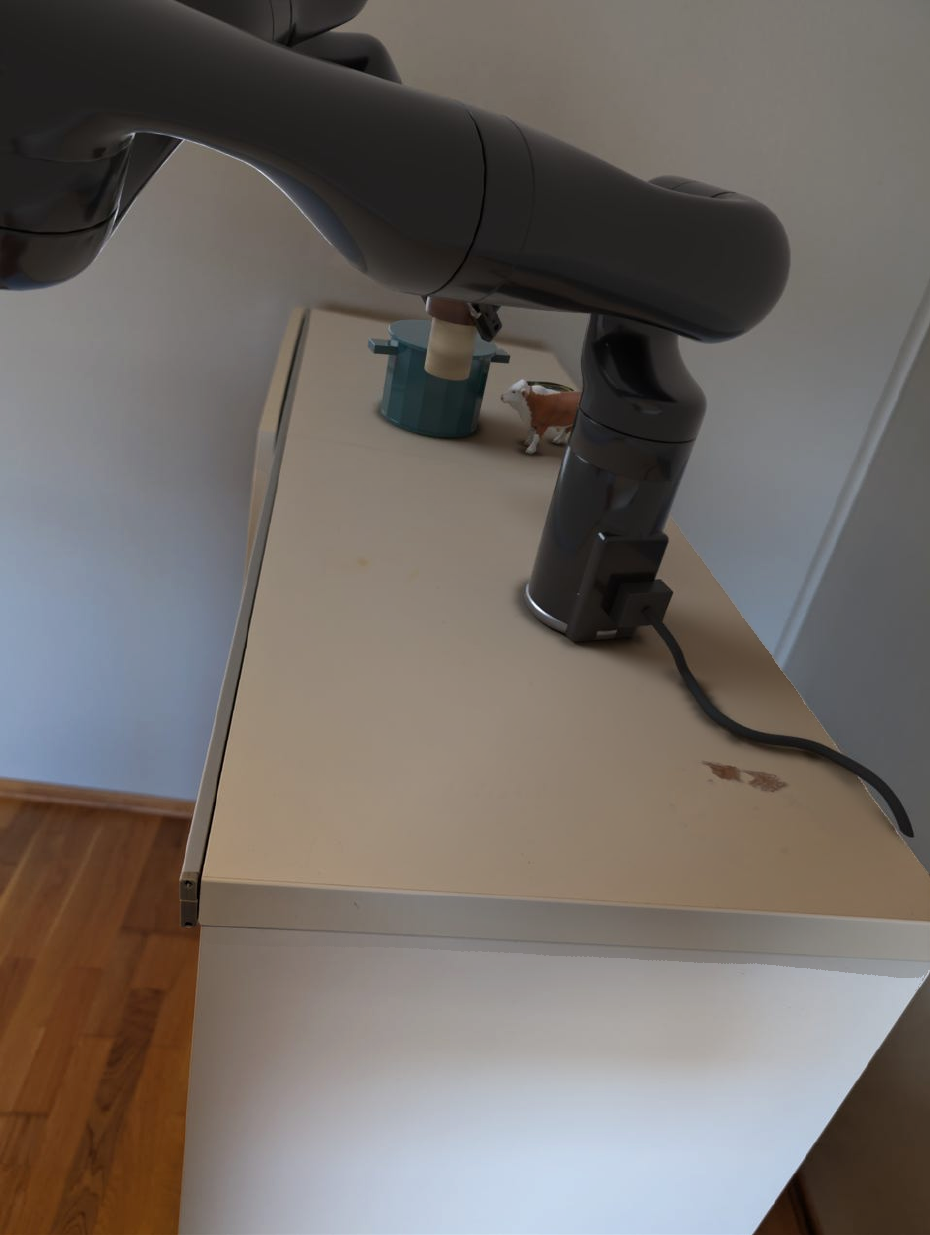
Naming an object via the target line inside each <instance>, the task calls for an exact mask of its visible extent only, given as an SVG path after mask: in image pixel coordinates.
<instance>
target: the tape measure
mask: <svg viewBox="0 0 930 1235" xmlns="http://www.w3.org/2000/svg"><path fill="white" fill-rule="evenodd" d="M525 381H526V382H527V384H528V385H529V386H536V385H540V386H543V387H544V388H545V389H551V390H555V391H561V392H570V391H575V390H574V389H573V388H571V387H568V386H566V385H564V384H560V383H556V382H551V381H534V380H533V381H531V380H525Z"/></svg>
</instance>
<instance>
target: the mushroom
mask: <svg viewBox="0 0 930 1235" xmlns="http://www.w3.org/2000/svg"><path fill="white" fill-rule="evenodd" d="M425 312H426V314H428V315H429V316H431V318H432V319H431V321H432V325H431V331H430V337H429V343H428V349H427V356H426V362H425V370H426V371H427V372H428V373H429V374H431V375H434V376H436V377H439V378H443V379H448V380H465V379H467V378H468V377H469V373H470V368H471V363H472V358H473V353H474V348H475V342H476V337H477V333H479V332H478V330H477V328H476V326H475V324H474V322H473V320H472V318H471V316H470V315H471V314H470V313H469V312H468V310H467V309H466V308H465V307H464V306H463V304H462V303H461V302H460V301H453V300H446V299H440V298H433V297H427V303H426V305H425Z"/></svg>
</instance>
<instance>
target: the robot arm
mask: <svg viewBox="0 0 930 1235" xmlns="http://www.w3.org/2000/svg"><path fill="white" fill-rule="evenodd" d="M368 1H369V0H0V291H5V292H8V291H9V292H29V291H37V290H45V289H49V288H53V287H55V286H59V285H61V284H64V283H66V282H69V281H70V280H72V279H74V278H76V277H78V276H79V275H80V274H81V273H84V271H86V270H87V269H88V268H89V267H90V266H91V265H92V264H93V263H95V261H96V259H97V258H98V257H99V255H100V254H101V252H102V251H103V250H104V248H105V247H106V245H107V244H108V243H109V241H110V240H111V238H112V237H113V235H114V234H115V232H116V231H117V229H118V227H119V226H120V224H121V223H122V221H123V220H124V218H125V217H126V215H127V213H128V212H129V211H130V209H131V208H132V206H133V204H134V203H135V202H136V200H137V198H138V197H139V196H140V194H141V193H142V192H143V190H144V189H145V188H146V187H147V185H148V184H149V183H150V182H151V181H152V179H153V178H154V177H155V175H156V174H157V173H158V172H159V171H160V170H161V168H162V167H163V165H164V164H165V163H166V162H167V161H168V160H169V159H170V157H171V156H172V155H173V154H174V153H175V152H176V150H178V148H179V147H180V146H181V145H182V143H183V142H184V141H188V142H191V143H194V144H197V145H200V146H204V147H206V148H209V149H212V150H214V151H216V152H218V153H220V154H221V153H222V154H223V155H226V156H229V157H231V158H233V159H236V160H238V161H241V162H243V163H245V164H247V165H248V166H251V167H252V168H254V169H255V170H257V171H258V172H259V173H261V174H262V175H263V176H265V177H266V178H267V179H268V180H269V181H270V182H272V184H274V185H275V186H276V187H277V188H278V189H280V191H281V192H282V193H283V194H285V196H286V197H287V198H288V199H289V200H290V201H291V202H292V203H293V204H294V205H295V206H296V207H297V208H298V209H299V211H300V212H301V214H303V215H304V217H306V219H308V221H309V222H310V223H311V224H312V226H313V227H314V228H315V229H316V230H317V231H318V232H319V233H320V235H322V237H323V238H324V239H325V240H326V241H327V242H328V243H329V244H330V245H331V247H332V248H333V249H335V250H336V252H338V254H339V255H340V256H342V258H343V259H344V260H346V262H347V263H348V264H350V265H351V266H352V267H353V269H355V270H356V271H358V273H360V274H361V275H363V276H364V277H366V278H367V279H368V280H370V281H371V282H374V283H376V284H378V285H380V286H381V287H383V288H385V289H388V290H391V291H393V292H394V291H395V292H398V293H403V294H408V295H413V296H420V298H421V299H422V301H423V303H424V305H425V306H426V303H427V297H433V298H440V299H446V300H453V301H460V302H461V303H462V304H463V306H464V307H465V308H466V309H467V310H468V312H469V313H470V314H471V315H470V316H471V318H472V320H473V322H474V324H475V326H476V328H477V330H478V332H477V333H479V334H480V337H481V339H482V340H484V341H487V342H491V341H493V340H494V339H495V337H496V336H497V334H498V333H500V331H501V330H502V328H503V323H502V321H501V319H500V317H499V315H498V311H499V310H500V309H501V307H506V308H517V309H524V310H525V309H526V310H536V311H546V312H554V313H555V312H556V313H557V312H559V313H571V314H588V319H587V324H586V329H585V332H584V338H583V341H582V346H581V354H580V373H581V381H582V382H581V383H582V384H581V390H580V391H581V394H580V398H579V403H578V405H577V409H576V413H575V416H574V420H573V424H572V427H571V431H570V432H569V434H568V438H567V440H566V445H565V449H564V453H563V456H562V459H561V464H560V466H559V471H558V474H557V478H556V481H555V485H554V489H553V492H552V495H551V496H552V497H551V500H550V503H549V507H548V510H547V514H546V518H545V521H544V525H543V528H542V529H543V530H542V532H541V536H540V539H539V543H538V547H537V551H536V554H535V559H534V562H533V566H532V570H531V572H530V578H529V580H528V581H527V583H526V587H525V591H524V594H523V596H524V602H525V605H526V607H527V608H528V609H529V611H530V613H532V615H533V616H535V617H536V618H537V619H538V620H539V621H540V622H542V623H543V624H545V625H546V626H548V627H550V628H552V629H554V630H556V631H558V632H561V633H563V634H564V635H566V636H567V637H568V639H569V640H570V641H571V642H586V641H587V642H588V641H599V640H601V641H602V640H610V639H622V638H623V639H624V638H634V637H635V635H636V633H637V629H638V627H646V626H647V627H648V626H652V627H653V628H654V630H655V631H656V632H657V634H658V635H659V637H660V638H661V639H662V641H663V642H664V643H665V645H666V646H667V648H668V650H669V651H670V653H671V655H672V658H673V660H674V662H675V665H676V668H677V670H678V673H679V675H680V676H681V679H682V680H683V681H684V683H685V685H686V686H687V688H688V690H689V691H690V693H691V694H692V696H693V698H694V699H695V700H696V702H697V704H698V705H699V707H700V708H701V709H702V710H703V711H704V713H706V715H707V716H709V718H710V719H711V720H713V721H714V722H715V723H717V724H718V725H720V726H721V727H723V728H724V729H726V730H727V731H729V732H731V733H733V734H734V735H736V736H738V737H741V738H742V739H745V740H748V741H749V742H750V741H751V742H754V743H759V744H762V745H768V746H769V745H770V746H777V747H778V746H779V747H786V748H793V749H799V750H803V751H807V752H811V753H814V754H816V755H819V756H820V757H823V758H824V759H827V760H829V761H831V763H834V764H836V765H838V766H840V767H842V768H844V769H845V770H846V771H849V772H851V773H852V774H853V775H856V776H857V777H858V778H860V779H862V780H863V781H865V782H866V783H867V784H869V785H870V786H871V787H872V788H873V789H874V790H875V791H876V792H877V793H879V795H880V796H881V797H882V798H883V800H884V801H885V802H886V804H887V806H888V807H889V809H890V811H891V812H892V814H893V816H894V818H895V822H896V824H897V825H898V828H899V831H900V833H902V834H903V835H904V836H906V837H908V838H911V839H913V838H915V834H914V830H913V826H912V823H911V820H910V817H909V815H908V813H907V812H906V809H905V807H904V806H903V803H902V802H901V801H900V799H899V797H898V796H897V794H896V793H895V792H894V791H893V789H892V788H891V787H890V785H888V784H887V783H886V782H885V781H884V780H883V779H882V778H881V777H879V775H878V774H876V773H875V772H873V770H870V769H869V768H867V767H866V766H864V765H863V764H861V763H859V762H857V760H854V759H852V758H850V757H848V756H846V755H845V754H843V753H841V752H839V751H837V750H836V749H833V748H831V747H829V746H827V745H825V744H823V743H821V742H817V741H815V740H811V739H807V738H804V737H799V736H792V735H784V734H775V733H769V732H763V731H759V730H756V729H752V728H749V727H747V726H745V725H743V724H741V723H739V722H736V721H735V720H734V719H732V718H730V717H729V716H727V715H726V714H724V713H723V712H722V711H720V710H719V709H718V708H717V707H716V706H715V705H714V704H713V703H712V701H710V700H709V698H708V697H707V695H706V694H705V692H704V690H703V689H702V687H701V686H700V684H699V682H698V681H697V680H696V678H695V676H694V674H693V673H692V671H691V670H690V668H689V666H688V663H687V660H686V658H685V654H684V652H683V650H682V647H681V646H680V645H679V643H678V641H677V639H676V638H675V637H674V635H673V634H672V632H671V631H670V629H669V628H668V627H667V626H666V624H665V623H664V622H663V621H664V619H665V617H666V616H665V615H666V613H667V610H668V608H669V605H670V603H671V600H672V597H673V595H674V590H672V588H671V587H669V585H667V584H666V583H665V582H664V581H663V580H662V579H661V578H657V575H658V573H659V570H660V566H661V564H662V561H663V559H664V556H665V553H666V551H667V548H668V545H669V542H670V537H669V535H667V533H665V531H664V530H665V528H666V524H667V522H668V518H669V515H670V513H671V510H672V507H673V505H674V502H675V500H676V496H677V494H678V491H679V488H680V486H681V482H682V480H683V476H684V475H685V471H686V469H687V466H688V463H689V460H690V458H691V454H692V453H693V449H694V447H695V443H696V441H697V438H698V437H699V433H700V431H701V428H702V425H703V423H704V420H705V416H706V414H707V413H706V412H707V409H708V401H707V396H706V394H705V392H704V390H703V388H702V387H701V386H700V385H699V383H698V382H697V380H695V378H694V376H692V374H691V372H690V371H689V369H688V368H687V366H686V363H685V362H684V359H683V357H682V354H681V350H680V346H679V336H680V337H681V338H684V339H686V340H689V341H692V342H695V343H699V344H706V345H707V344H708V345H714V344H721V343H726V342H729V341H732V340H735V339H737V338H739V337H741V336H744V335H746V334H747V333H750V332H751V331H752V330H753V329H754V328H756V327H757V326H758V325H760V324H761V323H762V322H763V321H764V320H765V319H766V318H767V317H768V316H769V315H770V314H771V313H772V311H773V310H774V309H775V308H776V306H777V305H778V303H779V302H780V300H781V298H782V297H783V294H784V292H785V290H786V287H787V285H788V282H789V278H790V272H791V265H792V256H791V254H792V249H791V244H790V240H789V237H788V236H789V235H788V233H787V231H786V229H785V227H784V226H785V225H784V224H783V222H782V221H781V220H780V218H779V217H778V215H777V214H776V212H774V211H773V210H772V209H771V208H770V207H768V205H766V204H765V203H763V202H761V201H759V200H758V199H756V198H754V197H752V196H751V195H746V194H744V193H740V192H737V191H732V190H730V189H726V188H723V187H719V186H715V185H712V184H709V183H705V182H703V181H699V180H695V179H692V178H688V177H684V176H680V175H672V174H664V175H663V174H662V175H659V176H655V177H653V178H651V179H650V178H649V179H648V180H644V179H642V178H639V177H637V176H636V175H634V174H632V173H630V172H628V171H627V170H624V169H622V168H620V167H619V166H617V165H614V164H612V163H611V162H608V161H607V160H605V159H603V158H601V157H599V156H597V155H596V154H593V153H591V152H589V151H587V150H584V149H583V148H580V147H578V146H576V145H574V144H572V143H570V142H567V141H565V140H563V139H561V138H558V137H556V136H554V135H552V134H549V133H547V132H545V131H543V130H540V129H538V128H535V127H533V126H529V125H527V124H525V123H523V122H520V121H518V120H516V119H513V118H511V117H509V116H505V115H503V114H500V113H497V112H494V111H492V110H488V109H486V108H482V107H479V106H476V105H473V104H470V103H466V102H465V101H461V100H459V99H455V98H451V97H449V96H445V95H442V94H438V93H435V92H434V93H433V92H430V91H426V90H423V89H420V88H415V87H412V86H409V85H404V82H403V80H402V77H401V76H400V73H399V71H398V68H397V66H396V64H395V62H394V60H393V58H392V55H391V54H390V52H389V50H388V48H387V47H386V45H385V43H383V42H382V41H381V39H379V38H378V37H376V36H374V35H372V34H370V33H366V32H356V31H333V30H334V29H336V28H338V27H340V26H343V25H344V24H346V23H349V22H350V21H352V20H354V19H355V18H356V17H358V15H359V14H361V12H362V11H363V9H364V8H365V7H366V5H367V3H368Z"/></svg>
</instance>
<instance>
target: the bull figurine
mask: <svg viewBox="0 0 930 1235" xmlns="http://www.w3.org/2000/svg"><path fill="white" fill-rule="evenodd" d="M526 381H527V380H525V379H524V378H523V379H519V381H516V382H514V383H513V384H512V385H510V387H509V388H508V389H507V390H506V391H505V392H504V393H502V394H501V395H500V401H501V402H502V403H503V404H509V405H510V406H511V407H512V409H513V410H515V411H518V414H519V418H520V420H521V421H522V423H523V424H524V426H525V428H526V429H528V432H529V437H528V438H527V439H526V441H525V442H524V445H525V446H527V448H526V449H525V451H524V452H525V453H526V454H528V455H533V454H534V453H535V452H537V445H538V443H539V442H540V441H541V440H542V437H543V436H544V435H545V432H546V431H547V430H548V429H549V428H555V429H556V433H560V434H559V435H558V436H556V437H555V438H554V439H553V440H551V442H552V443H553V444H556V445H559V444H561V442H565V440H566V437H567V435H569V434H570V431H571V427H572V424H573V420H574V416H575V413H576V409H577V405H578V403H579V398H580V394H581V390H580V391H579V390H577V391H576V390H574V391H570V392H561V391H555V390H551V389H545V388H544V387H543V386H540V385H536V386H529V385H528V384H527V382H526ZM561 431H562V432H561Z"/></svg>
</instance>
